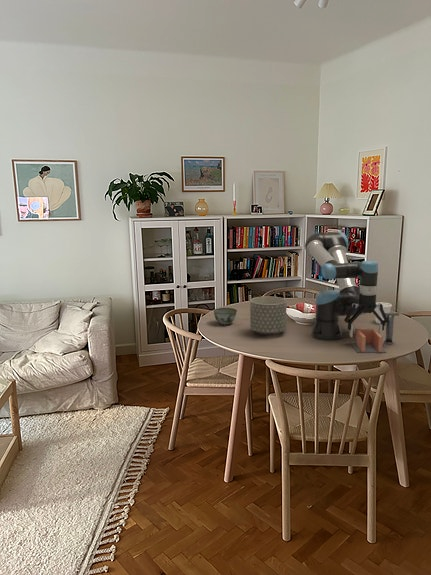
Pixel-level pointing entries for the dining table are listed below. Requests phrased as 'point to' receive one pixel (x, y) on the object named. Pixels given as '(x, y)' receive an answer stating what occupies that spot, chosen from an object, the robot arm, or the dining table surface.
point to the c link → (368, 339)
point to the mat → (367, 348)
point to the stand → (390, 327)
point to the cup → (386, 309)
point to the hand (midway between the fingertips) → (365, 336)
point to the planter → (268, 315)
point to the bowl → (225, 315)
